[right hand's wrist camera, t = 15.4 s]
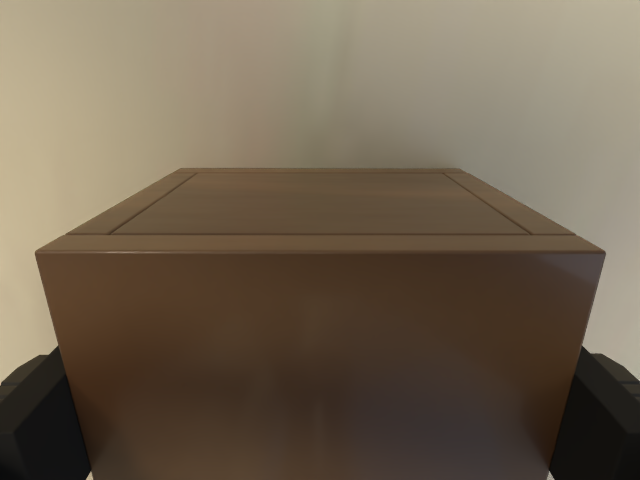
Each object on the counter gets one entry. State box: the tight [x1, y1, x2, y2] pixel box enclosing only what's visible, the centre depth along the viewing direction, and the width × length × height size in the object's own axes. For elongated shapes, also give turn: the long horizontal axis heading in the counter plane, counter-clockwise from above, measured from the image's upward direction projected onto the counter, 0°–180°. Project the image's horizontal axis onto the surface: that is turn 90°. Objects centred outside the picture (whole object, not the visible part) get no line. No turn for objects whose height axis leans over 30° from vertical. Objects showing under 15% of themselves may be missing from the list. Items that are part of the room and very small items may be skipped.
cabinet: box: [35, 168, 606, 480], centre depth 15 cm, size 19×11×8 cm, turn 0°
